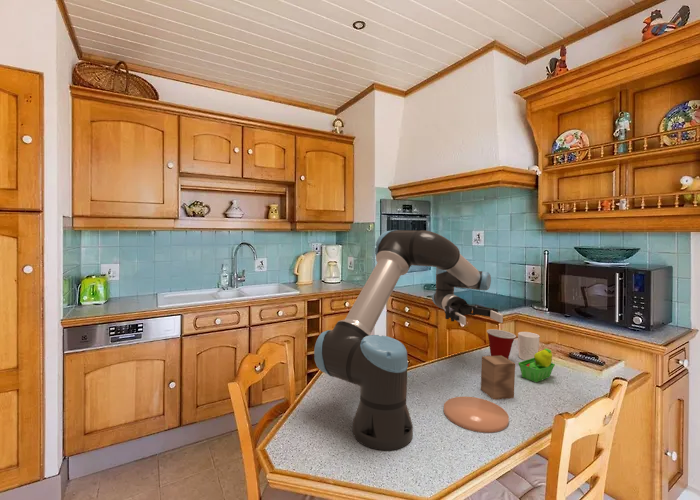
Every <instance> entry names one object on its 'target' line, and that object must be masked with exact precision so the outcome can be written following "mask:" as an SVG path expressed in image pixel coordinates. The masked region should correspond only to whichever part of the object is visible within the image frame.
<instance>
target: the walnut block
mask: <svg viewBox="0 0 700 500" xmlns="http://www.w3.org/2000/svg"><path fill="white" fill-rule="evenodd" d="M480 372H481V373H480V376H481V377H480V390H481V391H482V392H483V393H484V394H486V395H487V396H488V397H490V399H491V400H493V401H494V400H495V401H496V400H506V399H507V400H508V399H515V383H516V382H515V378H516V363H515V362H514V361H512V360H510V359H507V358H505V357H503V356H501V355H500V356H491V355H487V356H485V355H484V356H481V371H480Z"/></svg>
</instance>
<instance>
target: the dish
mask: <svg viewBox="0 0 700 500" xmlns="http://www.w3.org/2000/svg"><path fill="white" fill-rule="evenodd" d="M443 414H444V415H445V417H446V418H447V420H449V421H450V422H451V423H453V424H454V425H456V426H459V427H461V428H462V429H465V430H468V431H472V432H478V433H485V434H486V433H487V434H488V433H498V432H501V431H504V430H505V429H507V428H508V427H509V424H510V423H509V422H510V417H509V413H508V412H507V411H506V410H505V409H504V408H503V407H502V406H500V405H499V404H497V403H495V402H492V401H490V400H488V399H484V398H480V397H474V396H455V397H451V398H449V399H447V400H446V401H445V402H444V404H443Z"/></svg>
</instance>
